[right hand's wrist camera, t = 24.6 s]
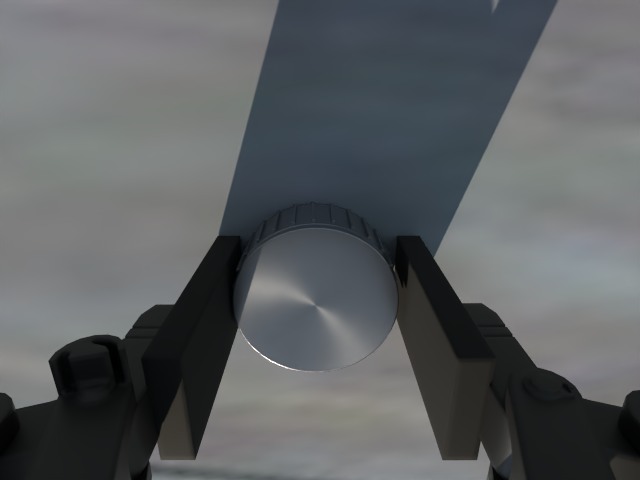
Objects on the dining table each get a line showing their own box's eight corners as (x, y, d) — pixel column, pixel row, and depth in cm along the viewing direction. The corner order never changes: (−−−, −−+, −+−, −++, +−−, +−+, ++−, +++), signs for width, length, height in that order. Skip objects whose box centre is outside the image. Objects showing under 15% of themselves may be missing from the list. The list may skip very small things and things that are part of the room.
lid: (234, 202, 14) (219, 227, 11) (391, 198, 14) (406, 222, 11) (248, 334, 16) (237, 376, 13) (385, 330, 16) (397, 371, 13)
